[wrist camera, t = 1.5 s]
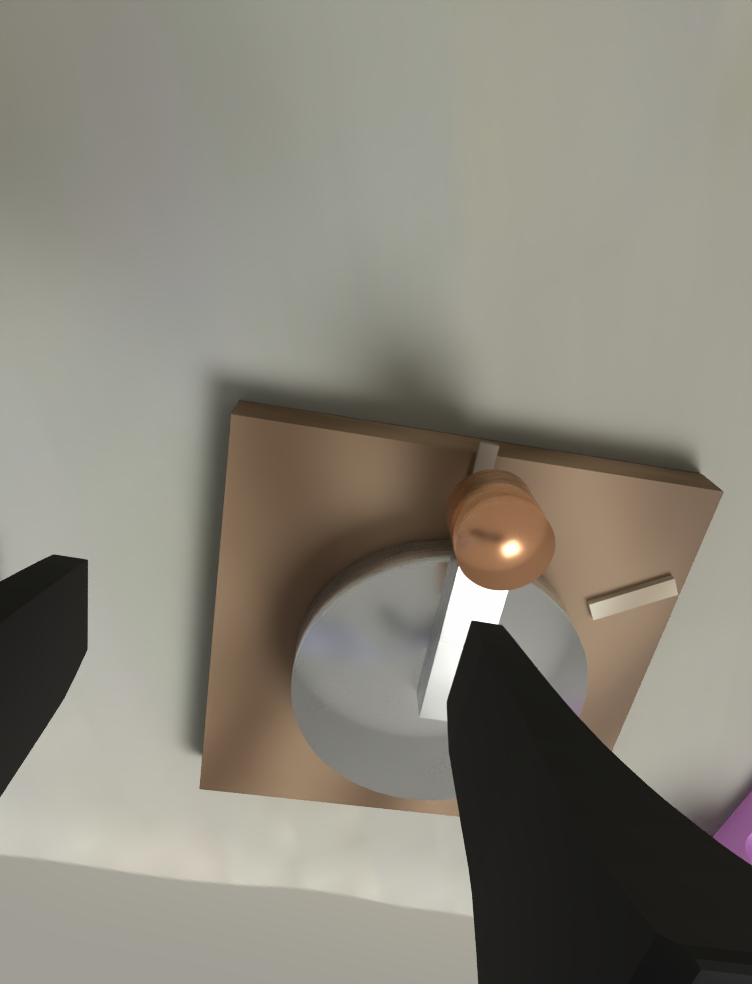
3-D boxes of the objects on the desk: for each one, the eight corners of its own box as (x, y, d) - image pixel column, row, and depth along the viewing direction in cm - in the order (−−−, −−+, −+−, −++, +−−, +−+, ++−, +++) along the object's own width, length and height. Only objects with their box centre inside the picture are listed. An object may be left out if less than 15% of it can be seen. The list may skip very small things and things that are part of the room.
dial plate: (207, 759, 27) (198, 794, 26) (240, 388, 21) (231, 404, 19) (568, 799, 29) (580, 834, 27) (705, 463, 22) (732, 483, 21)
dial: (530, 774, 26) (558, 871, 22) (281, 746, 25) (266, 842, 21) (641, 471, 20) (704, 532, 17) (329, 422, 20) (322, 474, 16)
